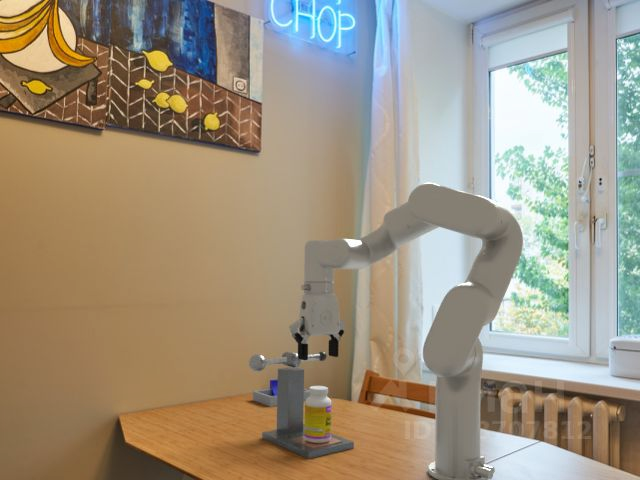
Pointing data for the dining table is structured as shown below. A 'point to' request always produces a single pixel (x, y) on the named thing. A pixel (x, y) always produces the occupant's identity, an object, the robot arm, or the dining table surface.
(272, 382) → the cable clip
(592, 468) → the dining table surface
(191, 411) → the dining table surface
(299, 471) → the dining table surface
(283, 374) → the press frame
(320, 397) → the supplement bottle
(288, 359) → the press lever
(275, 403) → the tray
